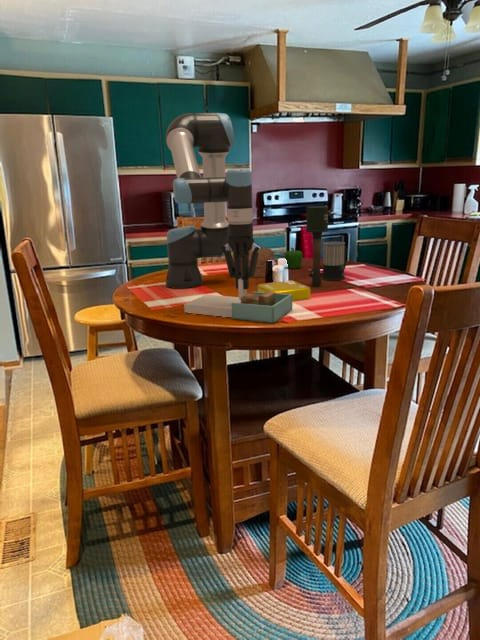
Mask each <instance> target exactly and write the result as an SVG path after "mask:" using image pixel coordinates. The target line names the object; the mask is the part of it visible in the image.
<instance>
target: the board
mask: <svg viewBox="0 0 480 640" xmlns="http://www.w3.org/2000/svg"><path fill="white" fill-rule="evenodd" d="M232 303H241V300H239V296H227V295H217V294H215V295H214V294H204V295H202V296H200V297H197V298H195V299H193V300H191V301H189V302H186V303H184V305H183V306H184V313H185V312H188V313H198V314H206V315H214V316H213V317H216V316H222V317H221V318H226V317H232ZM206 315H205V316H206Z"/></svg>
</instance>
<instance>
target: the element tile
mask: <svg viewBox="0 0 480 640" xmlns="http://www.w3.org/2000/svg"><path fill="white" fill-rule="evenodd" d="M257 292H275V293H278V294H292V302H295V301H296V302H297V301H303V300H310V299H311V286H308V285H304V283H303V284H302V283H300V282H297V281H295V280H284V281H283V280H282V281H277V282H267V283H259V284H258V285H257Z"/></svg>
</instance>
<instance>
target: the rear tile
mask: <svg viewBox="0 0 480 640" xmlns="http://www.w3.org/2000/svg"><path fill="white" fill-rule="evenodd" d="M258 302H259V295H256V294H253V293H247V295H245V296H243V297H241V303H242V304H254V305H258Z"/></svg>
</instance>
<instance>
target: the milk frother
mask: <svg viewBox="0 0 480 640" xmlns="http://www.w3.org/2000/svg"><path fill="white" fill-rule="evenodd" d="M322 245H323V247H322V250H323V253H322V265H320V270H322V272H320V273H321V280H325V281H335V282H336V281H343V280H345V279H346V277H345V270H346V265H347V251H348V249H347V246H346V242H344V241H326V242H323V243H322ZM308 272H309V275H310V276H312V275H313V268H311V269H310V270H309V271H308Z"/></svg>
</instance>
